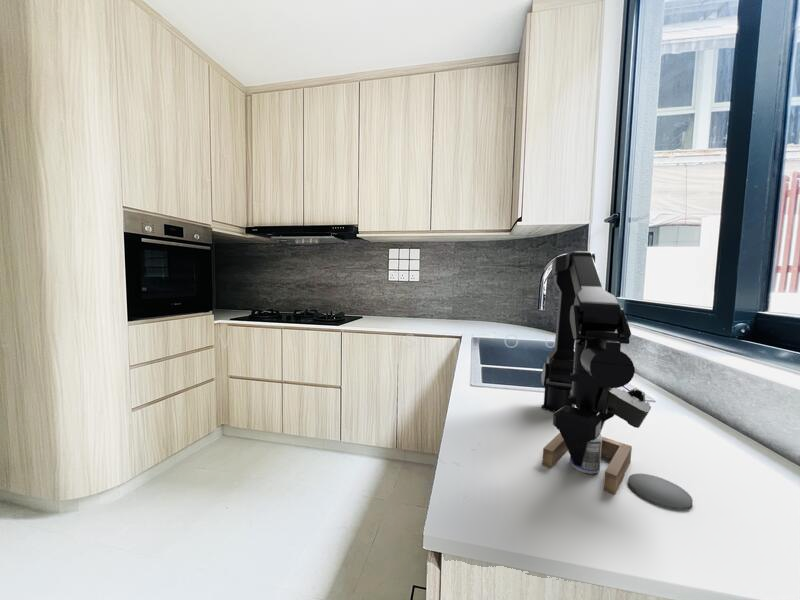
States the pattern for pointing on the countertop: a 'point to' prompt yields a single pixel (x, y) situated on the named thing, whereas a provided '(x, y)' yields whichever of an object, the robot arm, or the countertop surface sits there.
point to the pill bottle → (591, 457)
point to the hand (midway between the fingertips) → (585, 455)
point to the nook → (610, 449)
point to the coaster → (660, 491)
